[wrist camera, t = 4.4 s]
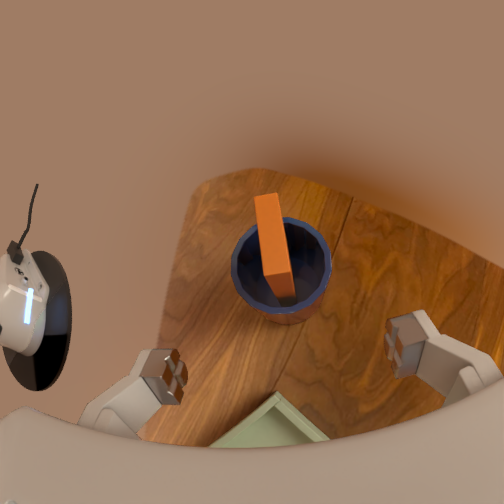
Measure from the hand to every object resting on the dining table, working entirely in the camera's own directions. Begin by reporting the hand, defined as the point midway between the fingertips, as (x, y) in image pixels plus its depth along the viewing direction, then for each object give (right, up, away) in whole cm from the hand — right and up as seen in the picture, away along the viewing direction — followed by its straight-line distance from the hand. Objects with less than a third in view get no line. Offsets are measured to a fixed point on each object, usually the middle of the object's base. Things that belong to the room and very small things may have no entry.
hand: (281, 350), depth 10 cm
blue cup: (+3, 0, +18) cm, 19 cm away
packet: (+3, 0, +18) cm, 18 cm away
